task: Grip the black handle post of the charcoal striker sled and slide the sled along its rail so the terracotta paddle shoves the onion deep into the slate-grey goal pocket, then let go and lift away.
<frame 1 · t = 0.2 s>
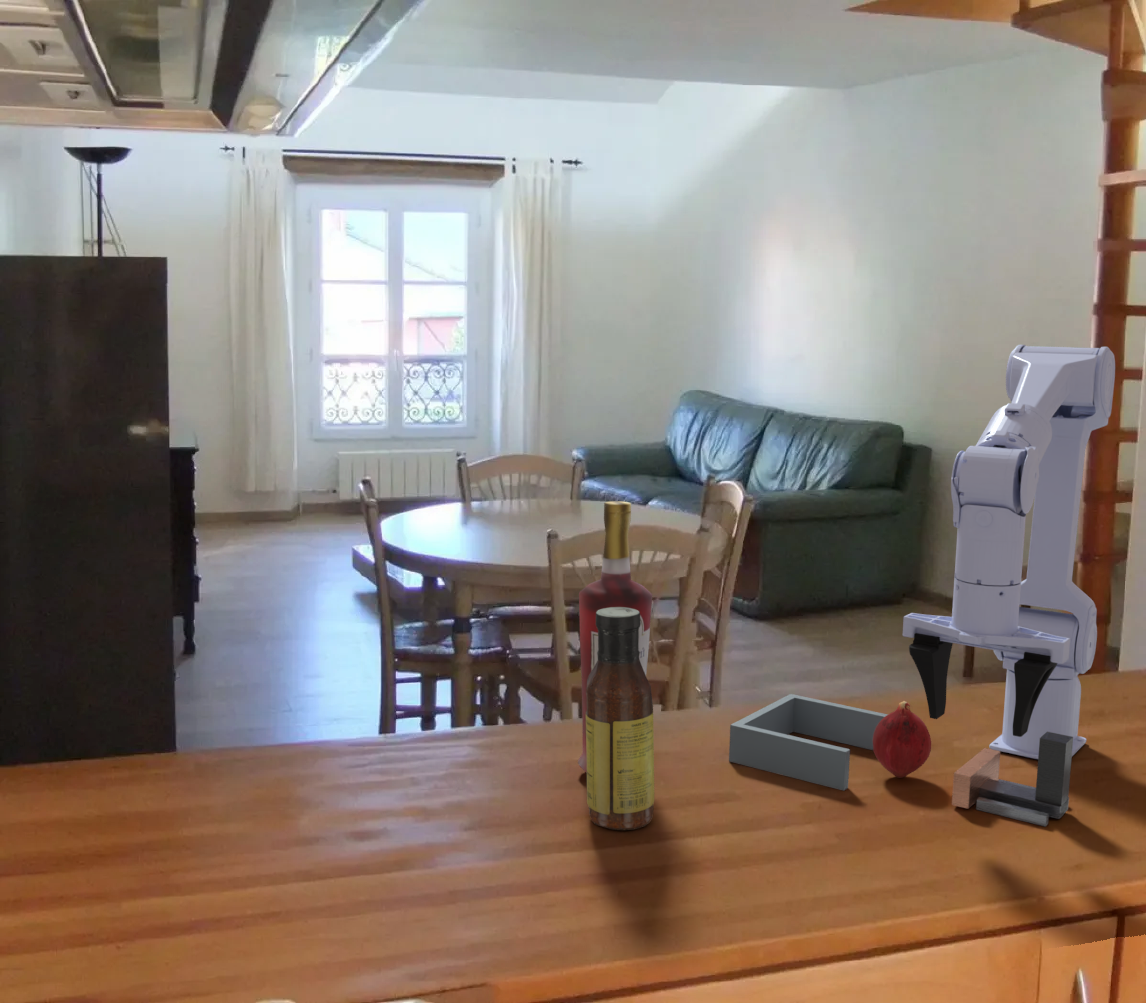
hand: (977, 724, 113), 10 cm above the kitchen counter, tool pointing down, fingers open, 7 cm apart
rail: (1021, 806, 120), on the kitchen counter
goal: (818, 757, 132), on the kitchen counter
sauce bottle: (618, 821, 115), on the kitchen counter
striker: (1017, 766, 119), point 4 cm above the kitchen counter, slide at 0.0 cm
liquor: (611, 776, 126), on the kitchen counter
onion: (899, 779, 127), on the kitchen counter
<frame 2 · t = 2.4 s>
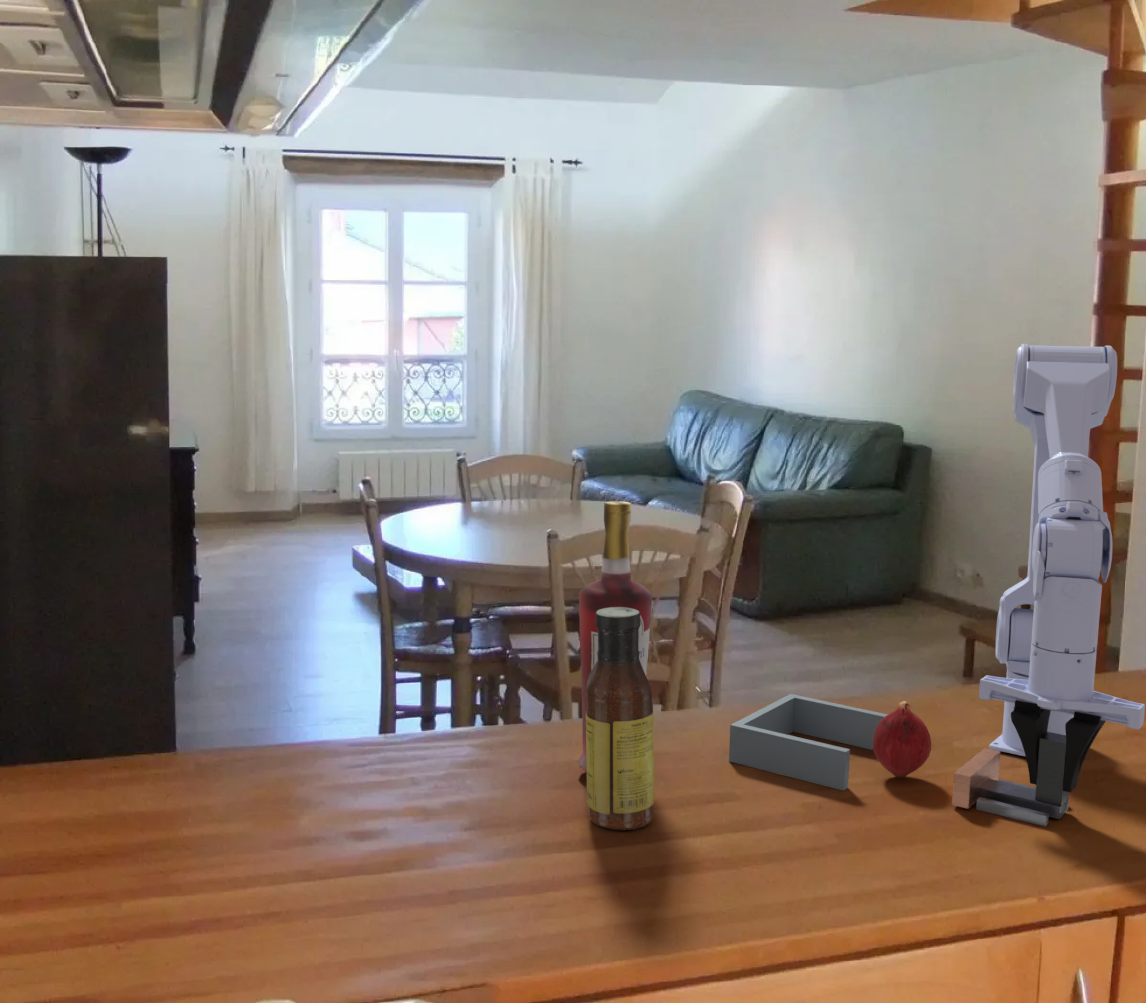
hand: (1052, 785, 118), 3 cm above the kitchen counter, tool pointing down, fingers closed on striker, 2 cm apart
striker: (1017, 766, 119), point 4 cm above the kitchen counter, slide at 0.0 cm, touching gripper
everything else where it was.
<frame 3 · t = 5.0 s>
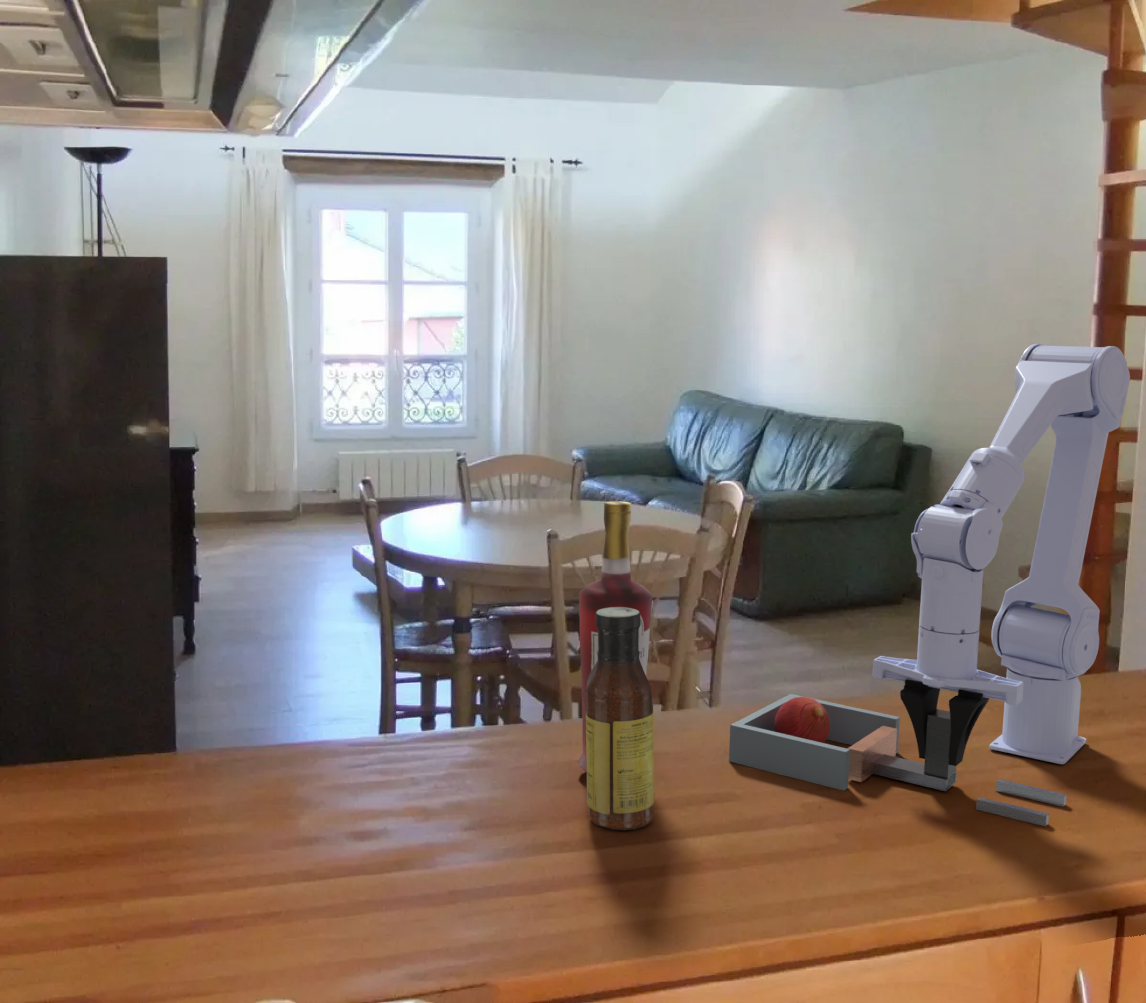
hand: (940, 759, 124), 3 cm above the kitchen counter, tool pointing down, fingers closed on striker, 2 cm apart
striker: (908, 742, 126), point 4 cm above the kitchen counter, slide at 10.9 cm, touching gripper
onion: (819, 710, 130), point 6 cm above the kitchen counter
everything else where it was.
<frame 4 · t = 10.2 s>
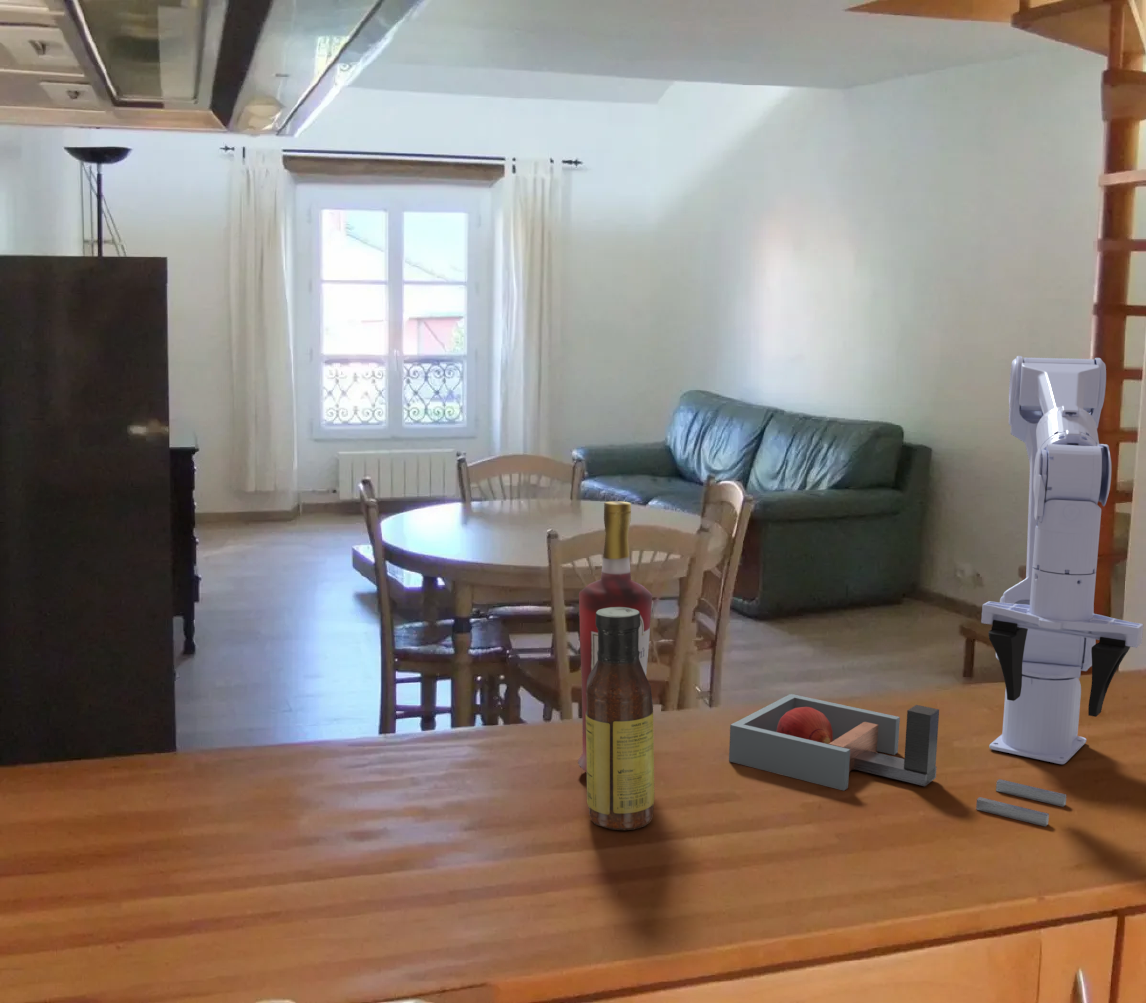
hand: (1053, 705, 121), 9 cm above the kitchen counter, tool pointing down, fingers open, 7 cm apart
striker: (889, 737, 127), point 4 cm above the kitchen counter, slide at 13.0 cm
onion: (827, 743, 127), point 3 cm above the kitchen counter
everything else where it was.
at the end: onion inside the target area on the goal (4.8 cm from its centre), point 3.2 cm above the goal's base; striker slide at 13.0 cm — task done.
